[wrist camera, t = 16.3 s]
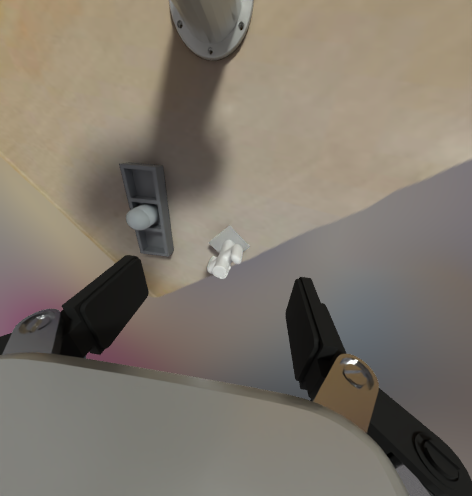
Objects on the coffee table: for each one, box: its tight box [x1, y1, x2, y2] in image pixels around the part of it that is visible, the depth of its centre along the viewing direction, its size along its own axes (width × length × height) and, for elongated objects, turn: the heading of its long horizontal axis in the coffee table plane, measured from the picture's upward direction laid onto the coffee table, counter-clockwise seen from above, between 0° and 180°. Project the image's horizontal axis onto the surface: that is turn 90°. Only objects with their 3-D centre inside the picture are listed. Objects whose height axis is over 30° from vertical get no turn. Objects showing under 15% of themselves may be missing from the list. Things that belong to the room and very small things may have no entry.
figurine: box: [207, 225, 250, 279], centre depth 39 cm, size 7×9×15 cm
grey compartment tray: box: [119, 163, 174, 257], centre depth 43 cm, size 22×8×3 cm, turn 176°
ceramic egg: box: [126, 203, 160, 230], centre depth 40 cm, size 5×5×8 cm
